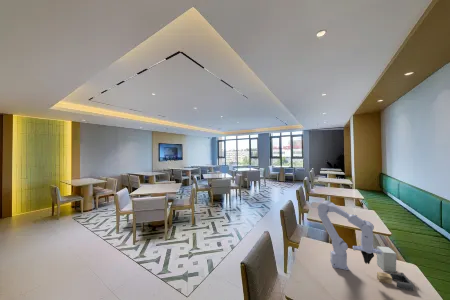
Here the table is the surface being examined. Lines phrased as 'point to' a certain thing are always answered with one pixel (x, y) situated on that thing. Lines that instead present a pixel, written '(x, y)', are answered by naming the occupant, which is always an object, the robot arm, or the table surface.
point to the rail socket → (402, 285)
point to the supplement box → (386, 259)
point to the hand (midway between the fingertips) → (366, 262)
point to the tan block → (384, 277)
